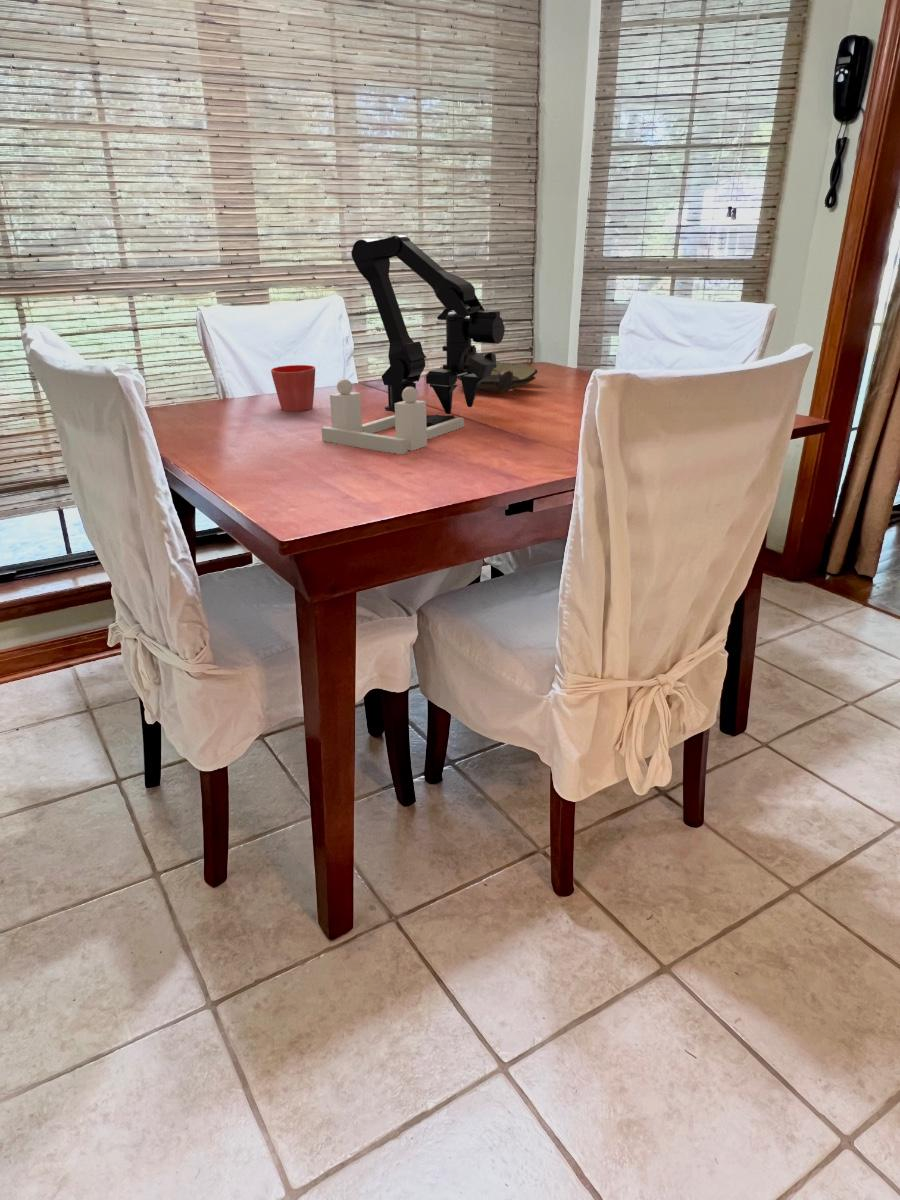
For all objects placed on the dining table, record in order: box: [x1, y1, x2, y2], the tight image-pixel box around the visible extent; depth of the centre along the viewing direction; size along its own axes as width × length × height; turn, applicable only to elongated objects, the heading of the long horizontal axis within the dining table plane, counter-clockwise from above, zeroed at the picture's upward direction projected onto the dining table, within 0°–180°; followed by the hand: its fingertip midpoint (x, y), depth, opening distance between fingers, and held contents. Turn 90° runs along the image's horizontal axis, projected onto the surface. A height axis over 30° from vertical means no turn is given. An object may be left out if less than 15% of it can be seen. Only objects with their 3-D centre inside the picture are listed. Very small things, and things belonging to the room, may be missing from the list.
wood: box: [426, 414, 456, 427], centre depth 180 cm, size 22×7×3 cm, turn 160°
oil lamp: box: [456, 361, 538, 392], centre depth 219 cm, size 22×30×8 cm
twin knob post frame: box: [321, 378, 465, 456], centre depth 172 cm, size 21×26×12 cm
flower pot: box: [270, 364, 316, 412], centre depth 199 cm, size 11×11×10 cm
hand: (459, 410), depth 191 cm, fingers open, 9 cm apart
